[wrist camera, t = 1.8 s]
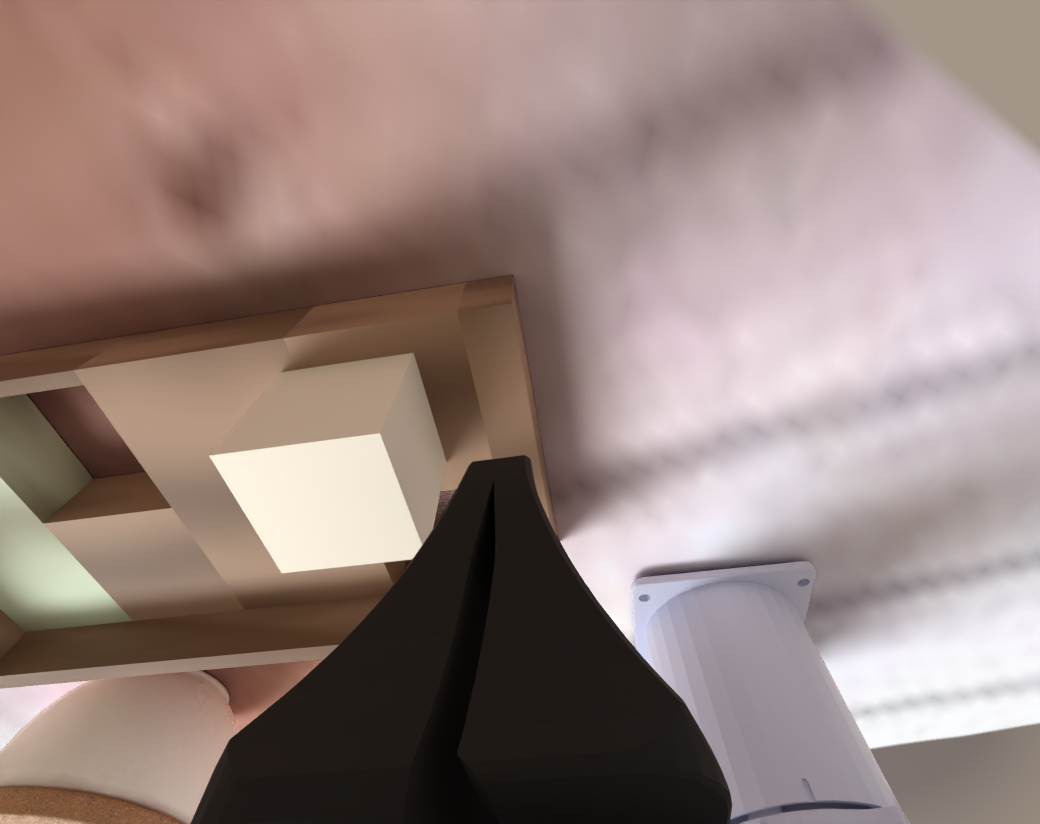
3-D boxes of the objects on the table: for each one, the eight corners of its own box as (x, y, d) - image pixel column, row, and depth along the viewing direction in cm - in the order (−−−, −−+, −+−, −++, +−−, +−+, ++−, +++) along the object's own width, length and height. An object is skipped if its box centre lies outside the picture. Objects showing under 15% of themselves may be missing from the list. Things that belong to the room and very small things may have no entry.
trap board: (558, 543, 22) (566, 637, 18) (65, 596, 24) (-20, 690, 20) (513, 274, 16) (509, 333, 12) (-151, 379, 18) (-333, 457, 14)
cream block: (446, 462, 16) (427, 557, 13) (329, 476, 17) (281, 573, 13) (413, 352, 14) (379, 433, 11) (281, 371, 15) (209, 455, 11)
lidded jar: (76, 608, 25) (-133, 851, 17) (292, 669, 28) (199, 903, 20) (64, 708, 30) (-101, 930, 22) (248, 751, 33) (159, 963, 25)
